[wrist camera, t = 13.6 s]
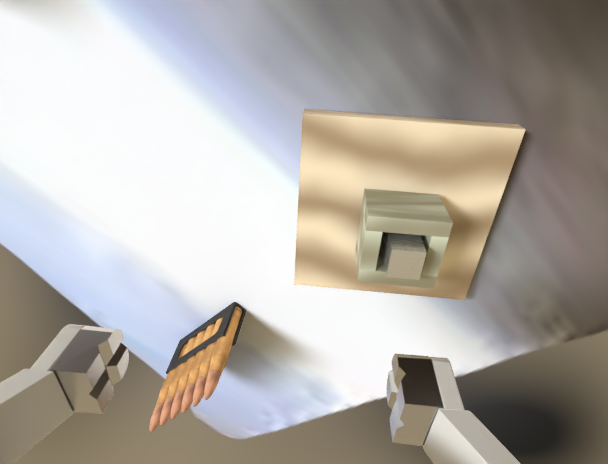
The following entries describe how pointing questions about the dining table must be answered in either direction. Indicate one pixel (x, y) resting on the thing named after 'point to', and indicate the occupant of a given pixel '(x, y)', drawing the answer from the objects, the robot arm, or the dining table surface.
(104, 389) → the robot arm
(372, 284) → the shaft board
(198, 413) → the dining table surface
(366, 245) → the collar
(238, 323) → the ammunition clip
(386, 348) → the dining table surface
